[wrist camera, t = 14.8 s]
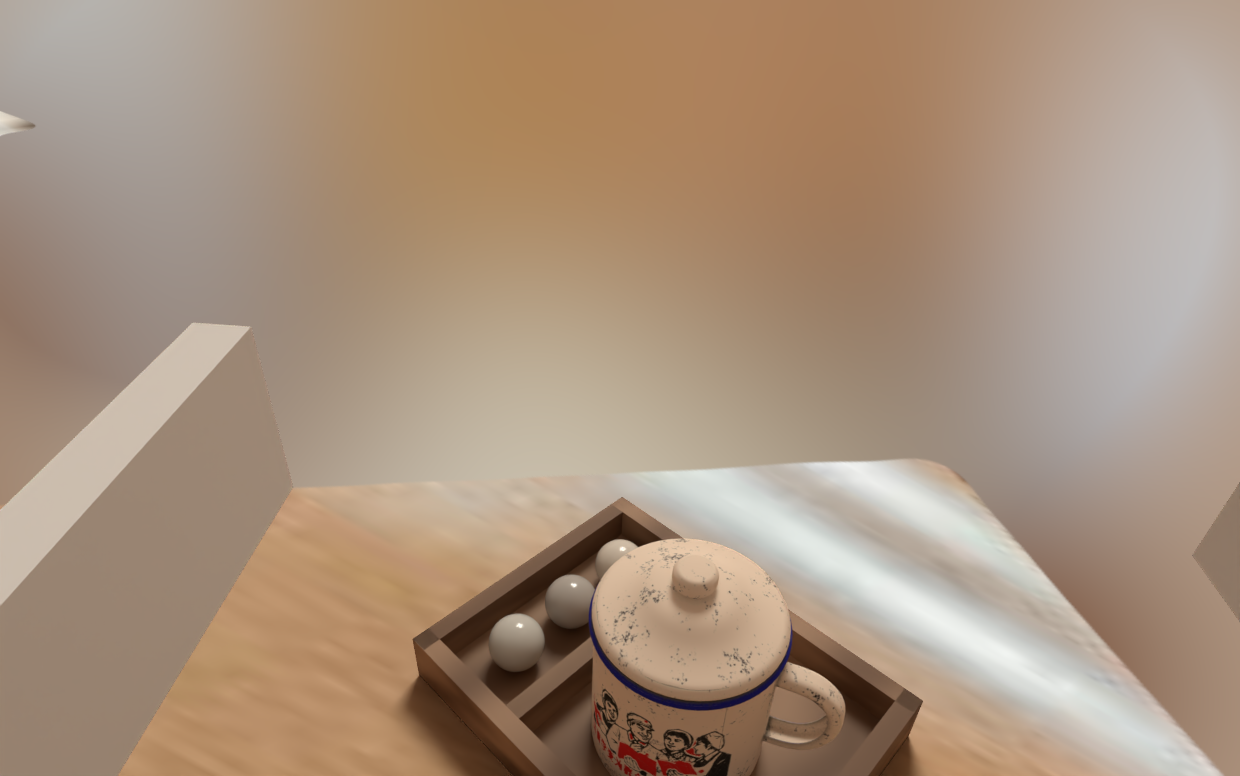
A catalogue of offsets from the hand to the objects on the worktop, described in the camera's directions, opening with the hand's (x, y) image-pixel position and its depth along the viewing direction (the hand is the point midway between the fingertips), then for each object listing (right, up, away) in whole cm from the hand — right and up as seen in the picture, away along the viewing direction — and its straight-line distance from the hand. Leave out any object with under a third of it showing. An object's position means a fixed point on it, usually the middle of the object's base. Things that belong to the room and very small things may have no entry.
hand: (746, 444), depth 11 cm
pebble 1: (-7, -14, +32) cm, 36 cm away
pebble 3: (-2, -11, +37) cm, 39 cm away
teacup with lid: (+2, -17, +29) cm, 34 cm away
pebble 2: (-5, -13, +35) cm, 37 cm away
